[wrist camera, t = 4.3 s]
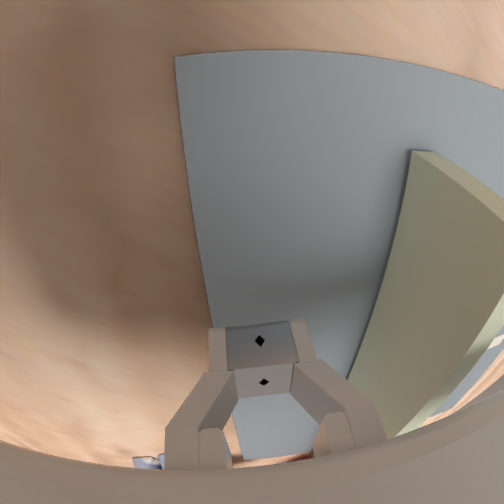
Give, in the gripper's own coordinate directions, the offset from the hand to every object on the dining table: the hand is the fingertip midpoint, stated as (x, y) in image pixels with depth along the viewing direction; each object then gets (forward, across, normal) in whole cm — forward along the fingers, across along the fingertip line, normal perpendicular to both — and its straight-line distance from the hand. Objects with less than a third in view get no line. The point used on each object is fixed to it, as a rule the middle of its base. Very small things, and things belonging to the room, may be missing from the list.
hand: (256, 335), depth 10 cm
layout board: (+3, -11, +9) cm, 15 cm away
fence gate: (+2, -6, +2) cm, 7 cm away
